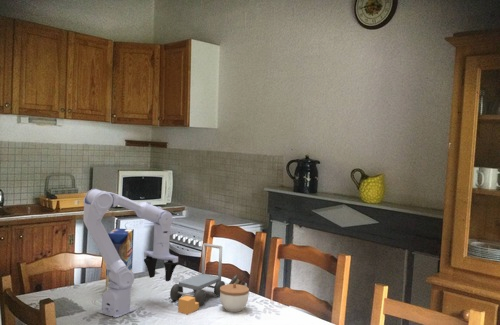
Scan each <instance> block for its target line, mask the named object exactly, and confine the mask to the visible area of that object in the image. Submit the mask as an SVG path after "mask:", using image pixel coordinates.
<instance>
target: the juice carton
mask: <svg viewBox="0 0 500 325" xmlns="http://www.w3.org/2000/svg"><path fill="white" fill-rule="evenodd" d="M134 231H135V230H134V228H117V227H116V228H114V229H112V230H111V231H109V232H107V233H108V235H109V237H110V239H111V241H112V243H113V245H114V247H115V249H116V251H117V253H118V255H119V256H120V258H121V260H122V261H123V262H124V263H125V265H126V266H127V268H128V269H129V270H130V271H132V272H133V257H134V256H133V255H134V235H135V234H134V233H135V232H134ZM105 269H106V268H105ZM110 282H111V281H110V280H109V278H108V272H107V269H106V271H105V291H106V290H108V289H109V287H110Z"/></svg>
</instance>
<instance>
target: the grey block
mask: <svg viewBox="0 0 500 325" xmlns="http://www.w3.org/2000/svg"><path fill="white" fill-rule="evenodd" d="M237 275H238V274H237V273H236V274H235V275H234V277H232V279H231V280H230V282H229V283H228V284H234V283H235V284H239V285H244V286H246V287H248V284H247V282H245V281H243V280H242V279H239V278H238V277H237Z"/></svg>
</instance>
